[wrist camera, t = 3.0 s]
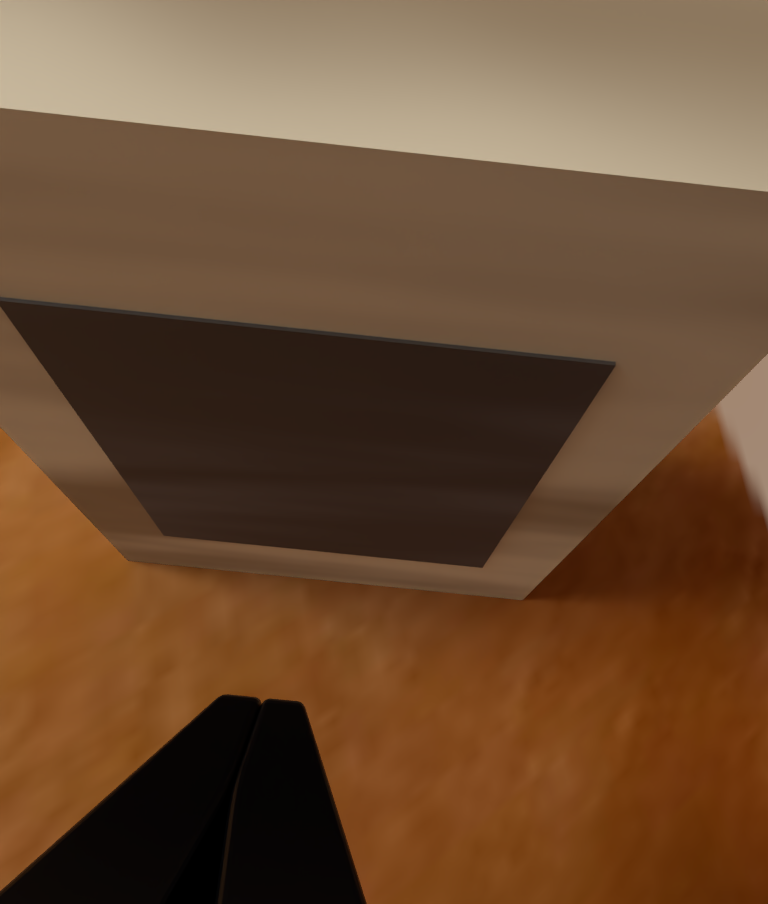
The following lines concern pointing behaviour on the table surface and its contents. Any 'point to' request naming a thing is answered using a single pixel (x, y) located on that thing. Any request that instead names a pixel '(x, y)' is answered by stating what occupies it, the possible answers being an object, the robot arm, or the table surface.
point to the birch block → (375, 270)
